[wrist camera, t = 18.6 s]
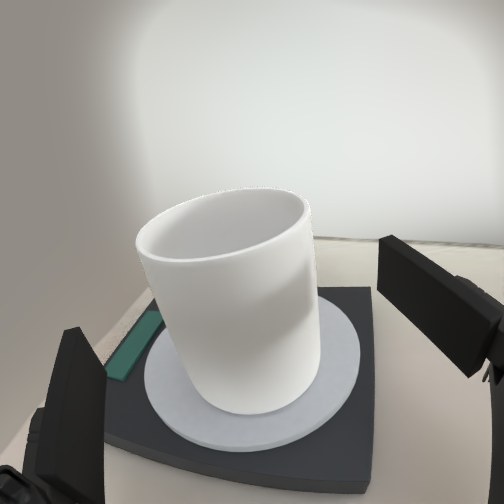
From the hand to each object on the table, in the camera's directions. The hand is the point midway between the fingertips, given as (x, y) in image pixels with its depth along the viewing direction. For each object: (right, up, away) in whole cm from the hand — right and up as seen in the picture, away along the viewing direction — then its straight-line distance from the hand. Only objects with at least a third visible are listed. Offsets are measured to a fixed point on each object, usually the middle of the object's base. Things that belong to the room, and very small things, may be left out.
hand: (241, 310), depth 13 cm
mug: (0, -4, +9) cm, 10 cm away
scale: (-1, -7, +10) cm, 13 cm away
